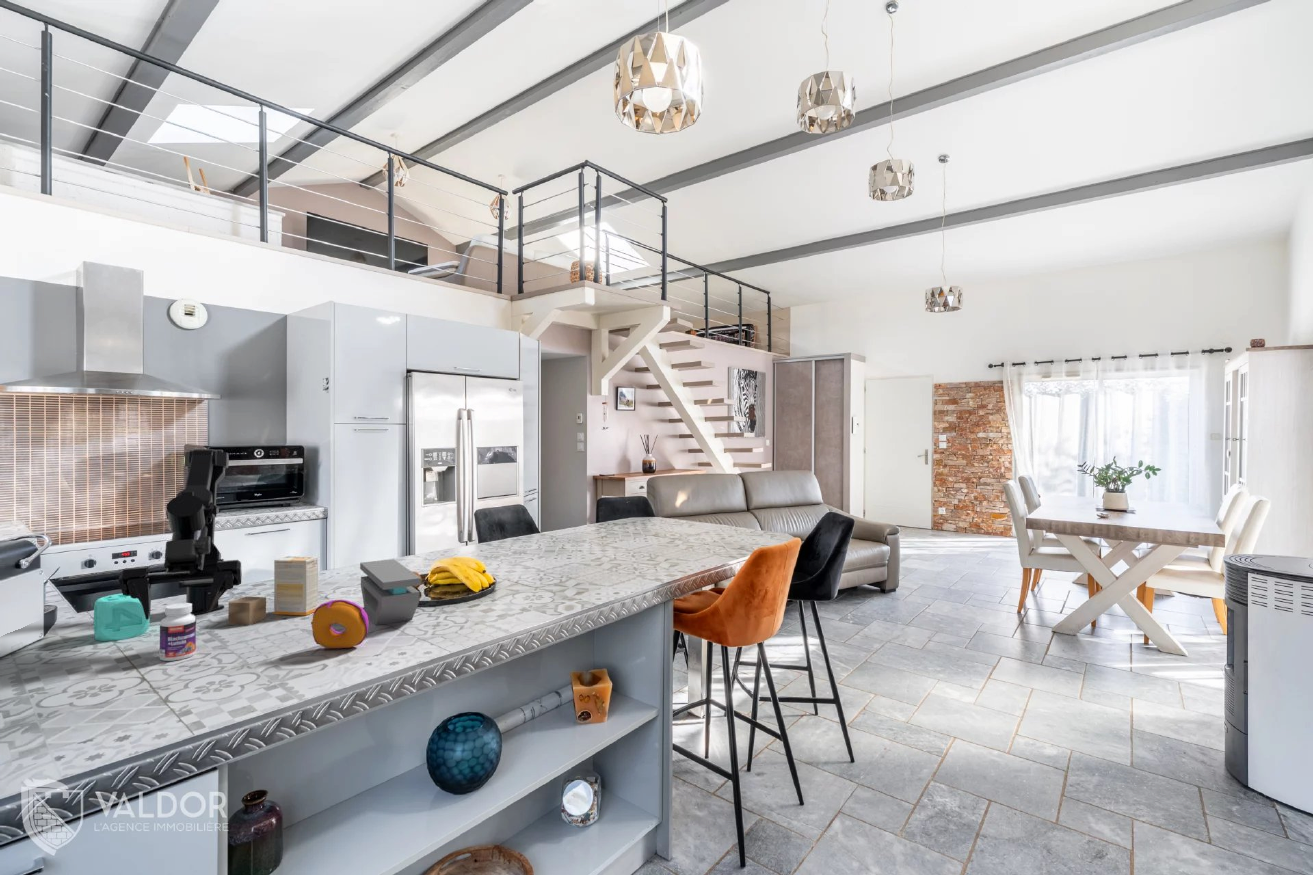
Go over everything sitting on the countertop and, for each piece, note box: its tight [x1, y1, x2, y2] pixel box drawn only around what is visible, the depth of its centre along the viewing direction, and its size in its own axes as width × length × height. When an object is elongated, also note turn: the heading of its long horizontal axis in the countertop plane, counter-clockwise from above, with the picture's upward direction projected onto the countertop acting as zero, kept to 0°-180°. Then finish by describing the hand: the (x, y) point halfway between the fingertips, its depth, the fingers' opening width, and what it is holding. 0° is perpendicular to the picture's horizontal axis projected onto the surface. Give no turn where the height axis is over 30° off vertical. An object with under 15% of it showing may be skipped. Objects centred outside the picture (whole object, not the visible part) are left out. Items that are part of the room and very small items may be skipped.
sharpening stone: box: [359, 558, 422, 626], centre depth 140 cm, size 25×8×11 cm, turn 37°
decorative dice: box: [93, 592, 151, 642], centre depth 125 cm, size 8×8×8 cm
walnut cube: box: [227, 596, 267, 626], centre depth 135 cm, size 5×5×5 cm
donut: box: [310, 599, 370, 650], centre depth 118 cm, size 8×9×10 cm
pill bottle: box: [158, 602, 197, 662], centre depth 113 cm, size 5×5×10 cm
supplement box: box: [273, 555, 319, 616], centre depth 142 cm, size 8×5×13 cm, turn 84°
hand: (178, 614), depth 113 cm, fingers open, 9 cm apart
